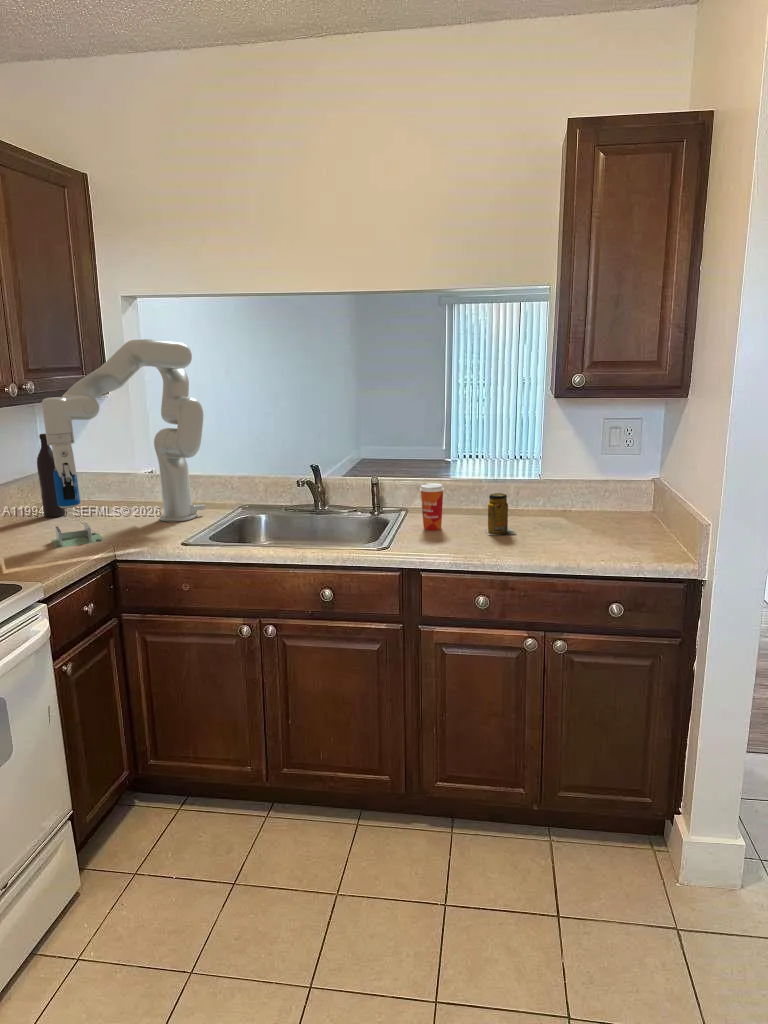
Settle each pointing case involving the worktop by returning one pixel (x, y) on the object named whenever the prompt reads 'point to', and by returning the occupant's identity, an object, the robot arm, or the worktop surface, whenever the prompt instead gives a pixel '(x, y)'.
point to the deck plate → (78, 541)
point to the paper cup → (432, 505)
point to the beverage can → (59, 491)
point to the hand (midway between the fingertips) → (68, 496)
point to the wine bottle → (48, 480)
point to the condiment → (498, 515)
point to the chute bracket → (73, 534)
